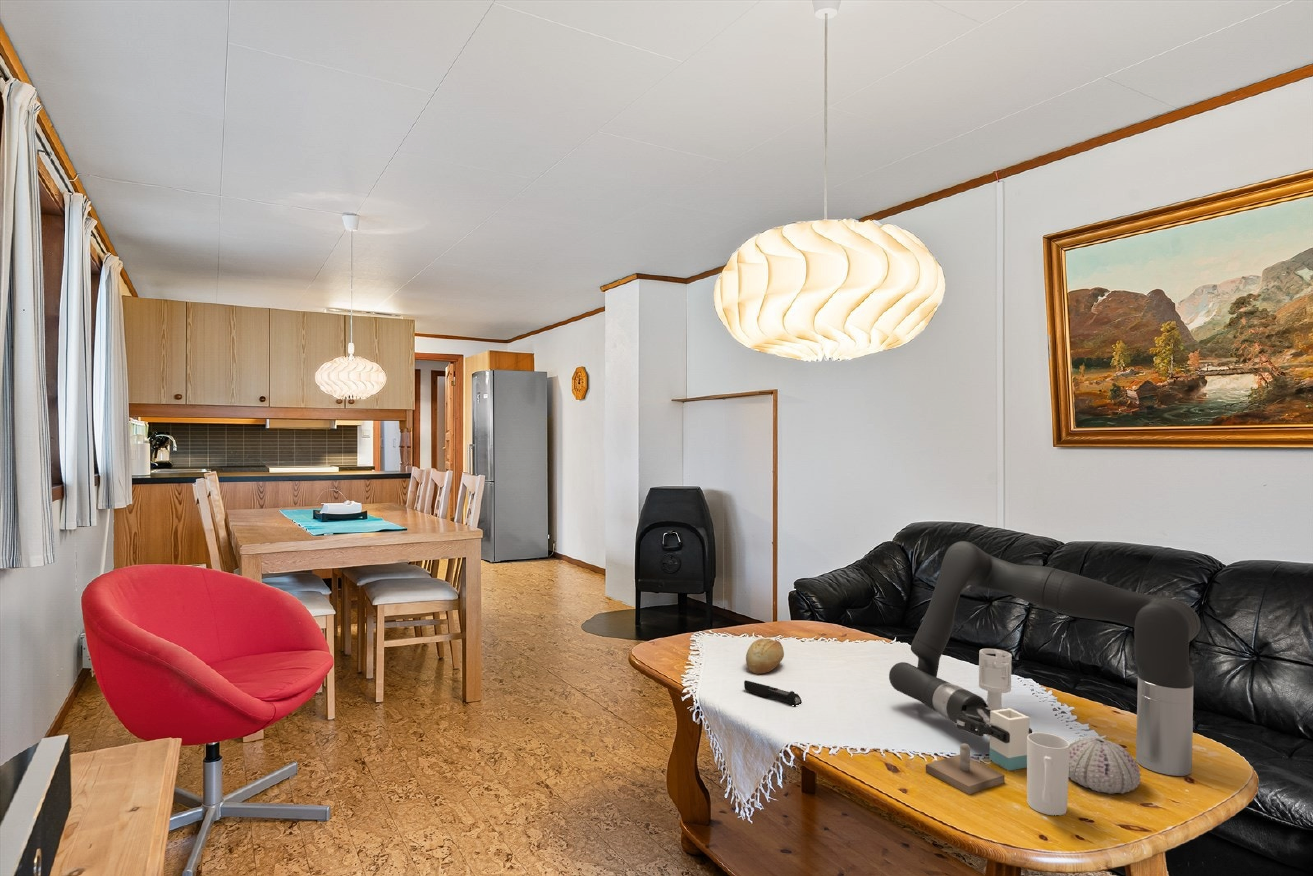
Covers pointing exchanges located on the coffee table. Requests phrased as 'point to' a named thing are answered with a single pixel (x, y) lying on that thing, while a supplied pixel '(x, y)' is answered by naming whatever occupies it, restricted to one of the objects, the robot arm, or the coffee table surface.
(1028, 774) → the mug
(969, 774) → the pin board
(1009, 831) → the coffee table surface
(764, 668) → the bread roll
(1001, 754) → the sleeve
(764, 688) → the electric trimmer
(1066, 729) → the coffee table surface
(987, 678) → the strainer
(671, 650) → the coffee table surface
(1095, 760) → the sea urchin shell
